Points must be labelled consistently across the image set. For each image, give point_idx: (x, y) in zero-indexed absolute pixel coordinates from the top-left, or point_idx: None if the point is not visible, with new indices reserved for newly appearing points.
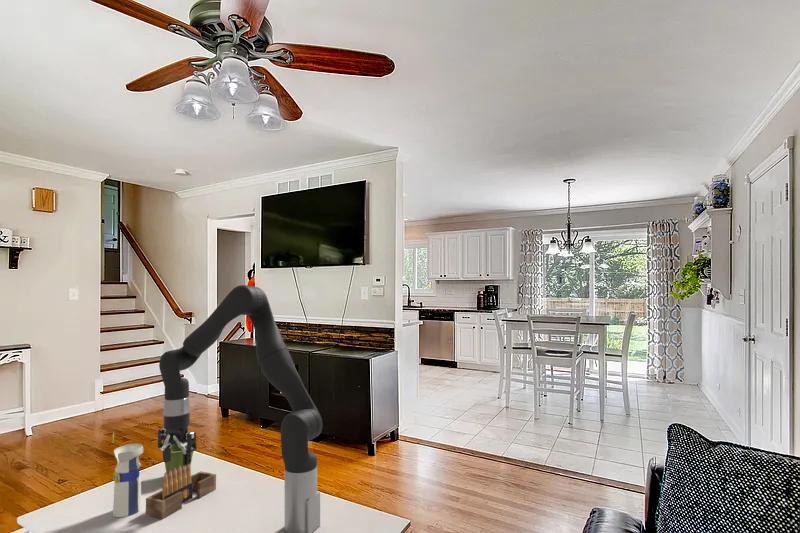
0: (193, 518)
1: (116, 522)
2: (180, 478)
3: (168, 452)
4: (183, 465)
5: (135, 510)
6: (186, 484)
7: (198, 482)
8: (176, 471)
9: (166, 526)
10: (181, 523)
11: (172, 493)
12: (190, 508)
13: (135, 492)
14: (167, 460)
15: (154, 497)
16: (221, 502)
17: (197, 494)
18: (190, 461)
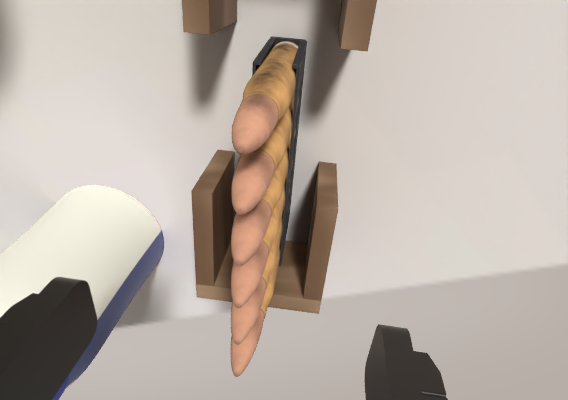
0: (463, 224)
1: (164, 299)
2: (275, 203)
3: (17, 393)
4: (366, 372)
5: (158, 249)
6: (290, 122)
7: (351, 49)
8: (256, 279)
9: (380, 290)
10: (430, 264)
11: (284, 224)
12: (383, 152)
13: (117, 307)
14: (85, 320)
15: (215, 263)
16: (547, 39)
17: (338, 34)
18: (437, 375)
